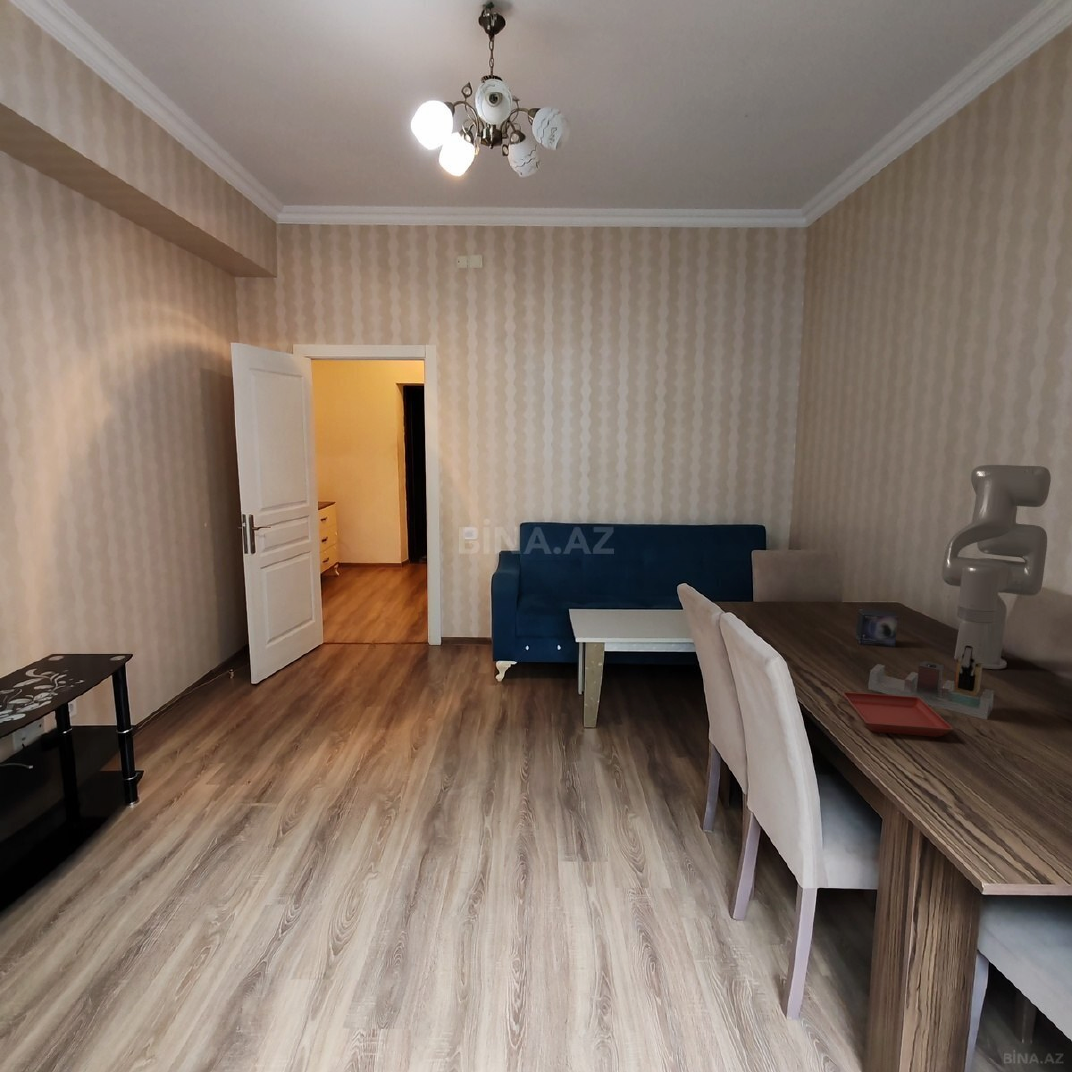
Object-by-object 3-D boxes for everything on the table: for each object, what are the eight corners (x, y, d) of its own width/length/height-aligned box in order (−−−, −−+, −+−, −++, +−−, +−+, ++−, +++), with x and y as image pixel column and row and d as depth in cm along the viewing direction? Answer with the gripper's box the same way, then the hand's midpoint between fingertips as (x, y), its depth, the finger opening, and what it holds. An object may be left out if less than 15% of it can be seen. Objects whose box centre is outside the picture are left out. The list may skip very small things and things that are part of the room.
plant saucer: (840, 703, 157) (841, 690, 156) (917, 708, 154) (919, 696, 153) (865, 736, 139) (866, 722, 139) (953, 743, 136) (954, 729, 136)
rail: (876, 680, 170) (878, 663, 170) (992, 709, 153) (994, 690, 152) (867, 689, 165) (869, 671, 164) (986, 719, 147) (989, 699, 146)
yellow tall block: (957, 685, 155) (961, 657, 154) (979, 690, 152) (983, 662, 151) (954, 690, 152) (957, 662, 151) (976, 695, 149) (979, 667, 148)
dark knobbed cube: (920, 686, 161) (923, 660, 160) (940, 691, 158) (943, 664, 157) (916, 691, 158) (919, 664, 157) (936, 696, 155) (939, 669, 154)
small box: (859, 645, 200) (862, 614, 199) (854, 639, 206) (857, 608, 205) (895, 648, 198) (899, 616, 196) (889, 641, 204) (892, 611, 202)
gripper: (964, 605, 158) (956, 673, 161) (950, 618, 146) (942, 692, 149) (1000, 611, 153) (991, 681, 156) (989, 625, 141) (979, 701, 144)
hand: (967, 685), depth 152 cm, fingers closed on yellow tall block, 4 cm apart
